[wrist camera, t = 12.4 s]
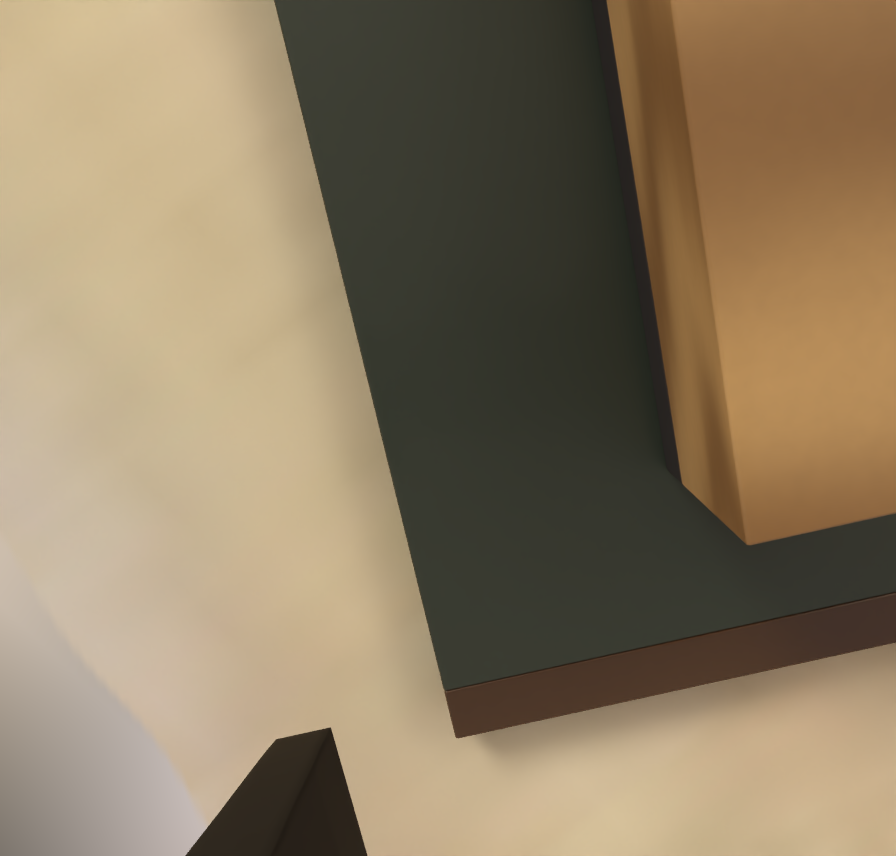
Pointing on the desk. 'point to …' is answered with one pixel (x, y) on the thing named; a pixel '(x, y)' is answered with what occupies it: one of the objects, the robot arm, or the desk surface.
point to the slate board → (536, 374)
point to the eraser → (764, 247)
